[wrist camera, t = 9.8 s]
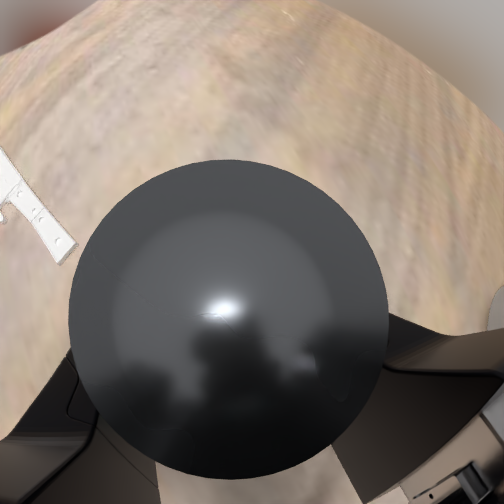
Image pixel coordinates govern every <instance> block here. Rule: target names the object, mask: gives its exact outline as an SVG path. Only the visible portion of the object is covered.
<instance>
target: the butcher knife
mask: <svg viewBox="0 0 504 504" xmlns="http://www.w3.org/2000/svg"><path fill="white" fill-rule="evenodd" d="M0 147H1V146H0ZM1 149H2V148H0V210H1V208H2V207H3V206H4V205H5V204H6V203H8V204H9V203H10V204H11V203H12V204H13V205H14V206H15V207H16V208H17V209H18V210H19V211H20V212H21V213H22V214H23V215H24V216H25V217H26V218H27V219H28V221H29V222H30V223H31V224H32V225H33V227H34V228H35V230H36V231H37V233H38V234H39V236H40V237H41V239H42V241H43V242H44V244H45V245H46V247H47V248H48V250H49V251H50V253H51V255H52V256H53V258H54V259H55V261H56V262H57V264H58V265H61V264H62V263H63V261H64V260H65V259H66V258H67V256H69V254H70V253H71V252H72V251H73V250H74V249H75V248H76V246H77V245H78V244H77V242H76V241H75V240H74V239H73V238H72V237H71V236H70V235H69V234H68V233H67V231H66V230H65V229H64V228H63V227H62V226H61V225H60V223H59V222H58V221H57V220H56V219H55V218H54V216H53V215H52V214H51V213H50V212H49V211H48V209H47V208H46V207H45V206H44V205H43V203H42V202H41V201H40V200H39V198H38V197H37V196H36V195H35V193H34V192H33V191H32V190H31V188H30V187H29V186H28V185H27V184H26V182H25V181H24V179H23V178H22V176H21V175H20V174H19V172H18V171H17V169H16V168H15V167H14V165H13V164H12V162H11V161H10V159H9V158H8V157H6V156H7V155H6V154H4V153H5V152H4V151H2V150H3V149H2V150H1ZM3 152H4V153H3ZM8 159H9V160H8ZM6 222H7V219H6V217H5V216H4V215H3V213H2V212H1V211H0V223H1V224H5V223H6Z"/></svg>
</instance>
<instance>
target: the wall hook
mask: <svg viewBox="0 0 504 504" xmlns="http://www.w3.org/2000/svg"><path fill="white" fill-rule="evenodd" d="M500 328H504V286H502V287H501V288H500V289H499V290H498V291H497V293H496V294H495V296H494V298H493V301H492V304H491V308H490V312H489V318H488V328H487V331H490V330H495V329H500Z"/></svg>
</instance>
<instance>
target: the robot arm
mask: <svg viewBox="0 0 504 504" xmlns="http://www.w3.org/2000/svg"><path fill="white" fill-rule="evenodd" d="M331 445H332V447H333V449H334V451H335V453H336V455H337V457H338V459H339V460H340V462H341V464H342V466H343V468H344V470H345V472H346V474H347V475H348V477H349V479H350V481H351V483H352V485H353V487H354V488H355V490H356V492H357V494H358V496H359V498H360V499H361V501H362V503H363V504H367V503H369V502H371V501H373V500H375V499H377V498H379V497H381V496H382V495H384V494H386V493H388V492H390V491H392V490H393V489H395V488H397V487H399V486H400V487H401V489H402V490H403V492H404V494H405V495H406V497H407V499H408V500H409V502H408V504H504V328H500V329H495V330H490V331H484V332H479V333H473V334H468V335H461V336H450V335H444V334H440V333H437V332H435V331H432V330H430V329H427V328H425V327H422V326H420V325H417V324H415V323H412V322H410V321H408V320H405V319H403V318H400V317H398V316H396V315H393V314H391V313H389V331H388V343H387V349H386V354H385V358H384V363H383V366H382V369H381V372H380V375H379V378H378V381H377V383H376V385H375V387H374V389H373V391H372V393H371V395H370V398H369V400H368V401H367V403H366V404H365V406H364V407H363V409H362V410H361V412H360V413H359V415H358V416H357V418H356V419H355V420H354V421H353V422H352V423H351V425H350V426H349V427H348V428H347V429H346V430H345V432H344V433H342V434H341V435H340V436H339V437H338V438H337V439H336V440H335V441H334V442H333V443H331ZM0 504H161V501H160V494H159V489H158V481H157V474H156V466H155V460H153V459H151V458H149V457H147V456H145V455H144V454H142V453H141V452H140V451H138V450H137V449H135V448H134V447H133V446H131V445H130V444H128V443H127V442H126V441H125V440H124V439H123V438H122V437H121V436H120V435H119V434H118V433H116V432H115V431H114V430H113V429H112V428H111V427H110V425H109V424H108V423H107V422H106V420H105V419H104V418H103V417H102V415H101V414H100V413H99V412H98V410H97V409H96V407H95V406H94V404H93V402H92V401H91V399H90V397H89V395H88V394H87V392H86V390H85V388H84V386H83V383H82V381H81V379H80V376H79V374H78V371H77V369H76V365H75V361H74V357H73V353H72V349H71V348H70V349H69V351H68V352H67V354H66V357H64V358H63V360H62V361H61V363H60V365H59V366H58V368H57V369H56V371H55V372H54V374H53V375H52V377H51V378H50V380H49V381H48V382H47V384H46V385H45V387H44V388H43V389H42V391H41V392H40V394H39V395H38V396H37V398H36V399H35V400H34V402H33V403H32V404H31V406H30V407H29V408H28V410H27V411H26V412H25V414H24V415H23V416H22V418H21V419H20V421H19V422H18V423H17V425H16V426H15V428H14V429H13V430H12V431H11V432H10V433H9V434H8V435H7V436H6V437H5V438H4V439H2V440H1V441H0Z"/></svg>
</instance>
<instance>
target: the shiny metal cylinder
mask: <svg viewBox="0 0 504 504" xmlns="http://www.w3.org/2000/svg"><path fill="white" fill-rule="evenodd" d="M68 325H69V335H70V344H71V349H72V353H73V357H74V361H75V365H76V369H77V371H78V374H79V376H80V379H81V381H82V383H83V386H84V388H85V390H86V392H87V394H88V395H89V397H90V399H91V401H92V402H93V404H94V406H95V407H96V409H97V410H98V412H99V413H100V414H101V415H102V417H103V418H104V419H105V420H106V422H107V423H108V424H109V425H110V427H111V428H112V429H113V430H114V431H115V432H116V433H118V434H119V435H120V436H121V437H122V438H123V439H124V440H125V441H126V442H127V443H128V444H130V445H131V446H133V447H134V448H135V449H137V450H138V451H140V452H141V453H142V454H144V455H145V456H147V457H149V458H151V459H153V460H155V461H156V462H158V463H160V464H162V465H164V466H166V467H169V468H172V469H175V470H178V471H180V472H183V473H186V474H190V475H195V476H200V477H205V478H212V479H228V480H235V479H248V478H256V477H261V476H266V475H270V474H274V473H277V472H280V471H283V470H286V469H289V468H291V467H294V466H296V465H298V464H300V463H302V462H304V461H306V460H308V459H310V458H312V457H313V456H315V455H316V454H318V453H319V452H321V451H322V450H323V449H325V448H326V447H328V446H329V445H330V444H331V443H333V442H334V441H335V440H336V439H337V438H338V437H339V436H340V435H341V434H342V433H344V432H345V430H346V429H347V428H348V427H349V426H350V425H351V423H352V422H353V421H354V420H355V419H356V418H357V416H358V415H359V413H360V412H361V410H362V409H363V407H364V406H365V404H366V403H367V401H368V400H369V398H370V395H371V393H372V391H373V389H374V387H375V385H376V383H377V381H378V378H379V375H380V372H381V369H382V366H383V363H384V358H385V354H386V349H387V343H388V331H389V311H388V301H387V294H386V288H385V284H384V281H383V277H382V274H381V270H380V267H379V265H378V262H377V260H376V258H375V255H374V253H373V250H372V249H371V247H370V245H369V243H368V242H367V240H366V238H365V236H364V235H363V233H362V232H361V230H360V229H359V228H358V226H357V225H356V223H355V222H354V221H353V219H352V218H351V217H350V216H349V215H348V214H347V213H346V212H345V211H344V210H343V208H342V207H341V206H340V205H339V204H338V203H336V202H335V201H334V200H333V199H332V198H331V197H329V196H328V195H327V194H326V193H325V192H323V191H322V190H320V189H319V188H317V187H316V186H314V185H313V184H311V183H310V182H308V181H306V180H304V179H302V178H300V177H298V176H296V175H294V174H292V173H290V172H287V171H285V170H282V169H279V168H276V167H273V166H270V165H265V164H261V163H256V162H252V161H241V160H210V161H204V162H198V163H192V164H188V165H185V166H181V167H178V168H175V169H172V170H169V171H167V172H165V173H163V174H160V175H158V176H156V177H154V178H152V179H150V180H148V181H147V182H145V183H144V184H142V185H140V186H139V187H137V188H136V189H134V190H133V191H132V192H130V193H129V194H128V195H127V196H125V197H124V198H123V199H122V200H121V201H119V202H118V203H117V204H116V205H115V206H114V207H113V209H112V210H111V211H110V212H109V213H108V214H107V215H106V216H105V217H104V218H103V220H102V221H101V222H100V224H99V225H98V227H97V228H96V230H95V231H94V233H93V234H92V236H91V237H90V239H89V241H88V243H87V245H86V247H85V249H84V251H83V253H82V255H81V257H80V260H79V263H78V266H77V269H76V272H75V275H74V278H73V283H72V288H71V293H70V299H69V319H68Z"/></svg>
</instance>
